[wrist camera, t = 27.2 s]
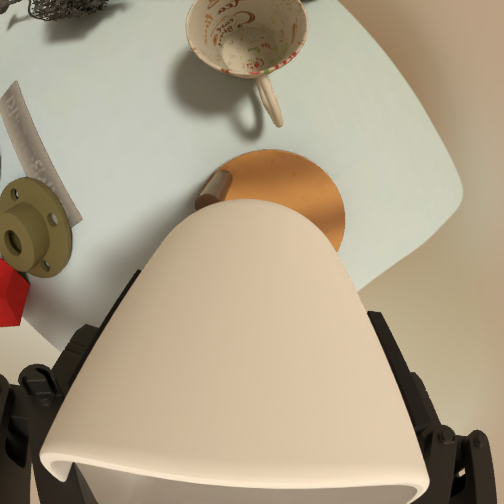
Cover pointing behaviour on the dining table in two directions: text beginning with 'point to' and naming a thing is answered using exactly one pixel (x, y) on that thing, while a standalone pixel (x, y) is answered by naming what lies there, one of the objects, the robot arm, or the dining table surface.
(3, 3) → the massage brush
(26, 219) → the flange
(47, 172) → the nameplate
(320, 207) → the wooden disc with post
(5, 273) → the red faceted polyhedron
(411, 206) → the dining table surface
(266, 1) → the mug
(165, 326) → the cup
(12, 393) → the robot arm
